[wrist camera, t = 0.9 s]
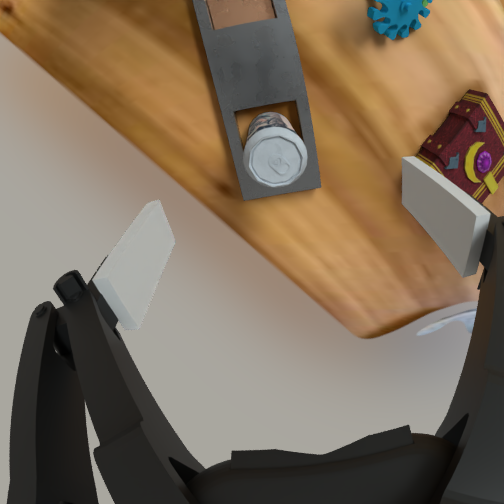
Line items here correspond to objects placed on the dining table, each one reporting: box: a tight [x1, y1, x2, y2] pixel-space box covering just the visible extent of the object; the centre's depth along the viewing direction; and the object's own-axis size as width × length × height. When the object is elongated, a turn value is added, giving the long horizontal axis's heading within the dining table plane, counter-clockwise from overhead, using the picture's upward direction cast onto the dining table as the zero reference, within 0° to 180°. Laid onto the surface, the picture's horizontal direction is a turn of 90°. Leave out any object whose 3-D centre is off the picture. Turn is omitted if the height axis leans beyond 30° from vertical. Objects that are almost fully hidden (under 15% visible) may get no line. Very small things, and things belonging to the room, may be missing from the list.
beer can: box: [243, 112, 307, 188], centre depth 25 cm, size 5×5×12 cm
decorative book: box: [416, 89, 504, 203], centre depth 26 cm, size 11×16×5 cm
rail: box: [192, 0, 321, 201], centre depth 24 cm, size 30×9×2 cm, turn 12°
